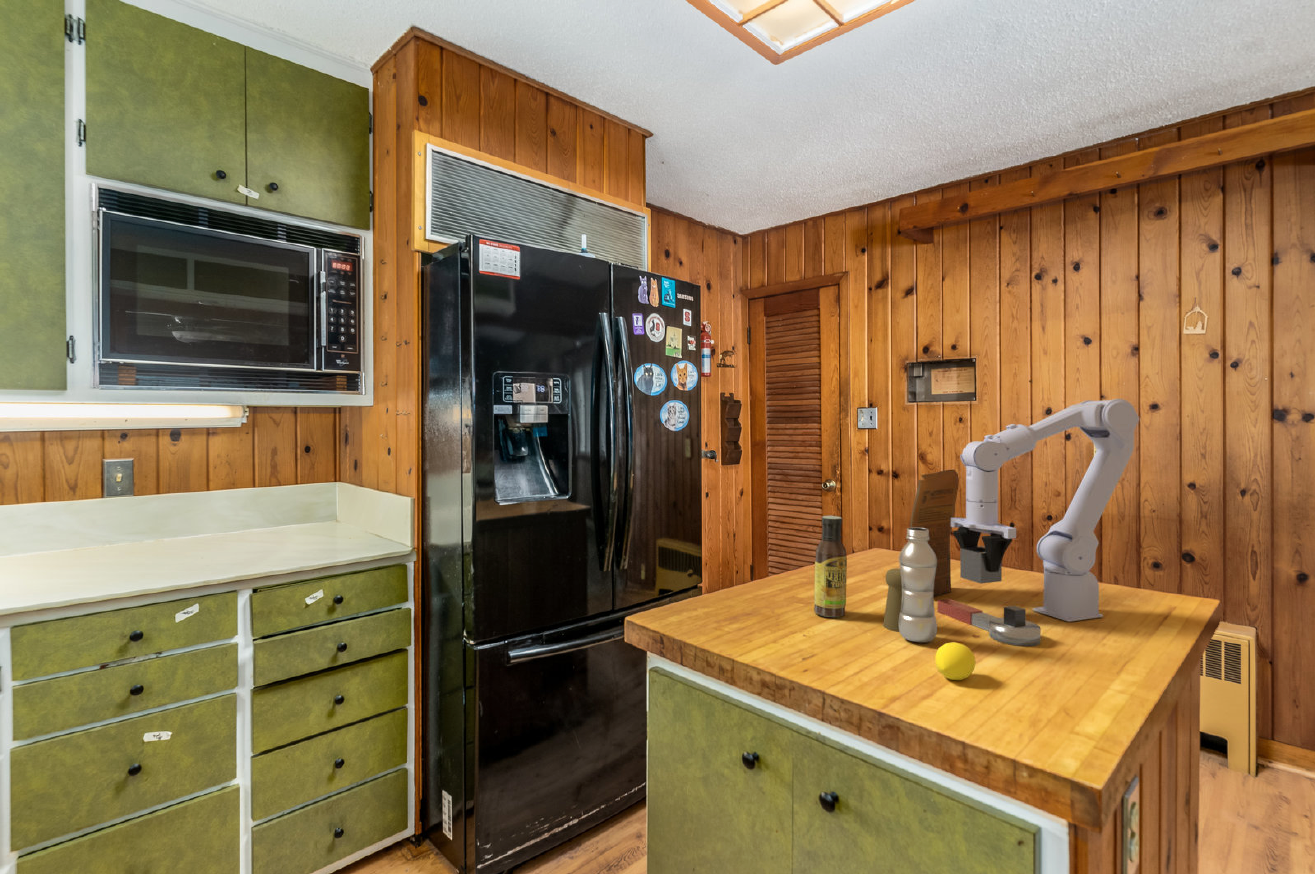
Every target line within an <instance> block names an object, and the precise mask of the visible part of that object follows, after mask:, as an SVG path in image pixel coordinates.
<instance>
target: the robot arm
mask: <svg viewBox="0 0 1315 874" xmlns="http://www.w3.org/2000/svg"><path fill="white" fill-rule="evenodd" d="M1139 421H1140V417H1139V414H1138V413H1137V411H1136V408H1135V407H1134V406H1133V404H1132V403H1131V402H1130V401H1128V400H1126V399H1123V398H1114V399H1109V400H1108V399H1107V400H1106V399H1104V400H1092V399H1091V400H1090V399H1088V400H1084V401H1082V402H1079V403H1076V404H1072V405H1069V406H1068V407H1066V408H1064V409H1062V410H1059V411H1058V412H1056V413H1054V414H1052V415H1050V416H1048V417H1045V418H1044V419H1041V420H1039V421H1038V422H1035V423H1033V424H1031V425H1029V426H1027V425H1024V424H1021V423H1020V424H1015V423H1011V424H1008V425H1006V426H1005V428H1006V429H1005V430H1002V431H1000V432H997V433H995V434H986V435H984V439H983V441H980V440H978V441H977V440H976V441H975V440H974V441H971V442H969V443H968V444H966V445H965V447H964V448H963V450H962V453H961V454H960V455H959V456H960V457H959V458H960V461H961V462H962V464H963V465H964V467H965V517H958V516H956V517H955V518H951V527H952V528H957V530H953V531H952V535H953V536H954V537H955V540H956V541H957V543H958V546H959V548H968V547H978V545H979V540H980V537H981V539H982V542H983V545H984V546H983V547H985V550H986V556H987V569H988V572H998V571H999V568H1000V564H1001V561H1003V557H1004V555H1005V553H1006V551H1007V550H1008V549H1009V546H1010V545H1011V544H1012V542H1013V539H1017V527H1012V526H1008V525H1005V524H1002V523H999V469H1001V468H1002V466H1003V465H1004V463H1006V462H1007V461H1010V460H1013V459H1015V458H1017V457H1020V456H1022V455H1024V454H1027V453H1029V452H1032V451H1034V450H1035V448H1036V446H1037V444H1038V442H1039V441H1042V440H1044V439H1047V438H1050V437H1052V436H1055V435H1057V434H1059V433H1063V432H1066V431H1068V430H1070V429H1073V428H1078V429H1079V430H1081V432H1083V434H1084V435H1085V436H1086V437H1087V438H1088V440H1090V441H1091V442H1092V443H1093V445H1094V448H1095V449H1096V452H1095V454H1094V456H1093V458H1092V460H1091V462H1090V464H1089V466H1088V467H1087V470H1086V472H1085V474H1084V477H1083V478H1082V480H1081V482H1080V484H1079V485H1078V488H1077V490H1076V492H1075V494H1074V495H1073V498H1072V500H1071V502H1070V503H1069V506H1068V508H1067V510H1066V512H1065V514H1064V516H1063V518H1062V519H1061V520H1060V521H1059V520H1058V522H1056V523H1054V524H1053V525H1051V526H1050V528H1049V530H1048V532H1047V533H1046V534H1044V535H1043V536H1042V537H1041V538H1040V539H1039V540H1038V542H1037V543H1036V554H1037V556H1038V557H1039V559H1041V561H1043V562H1042V566H1043V606H1038V607H1033V608H1032V611H1034V612H1037V613H1041V614H1043V615H1046V616H1049V617H1052V618H1056V619H1058V620H1062V621H1065V622H1075V621H1083V620H1088V619H1089V620H1090V619H1097V618H1098V619H1099V618H1103V617H1104V615H1103V614H1102V613H1099V608H1100V601H1099V599H1100V592H1099V591H1100V585H1099V581H1098V579H1097V577H1096V576H1095V574H1093V573H1092V572H1091V571H1090V570H1091V569H1092V568H1093V567H1094V565H1095V563H1096V559H1097V558H1096V552H1097V548H1098V546H1099V544H1100V542H1099V539H1098V538H1097V536H1096V534H1095V532H1094V531H1095V529H1096V527H1097V524H1098V522H1099V521H1100V519H1101V516H1102V515H1103V513H1104V511H1105V508H1106V507H1107V505H1108V503H1109V500H1110V499H1111V497H1112V495H1113V493H1114V490H1115V489H1116V487H1117V485H1118V483H1119V480H1120V479H1121V477H1122V475H1123V473H1124V471H1125V469H1126V467H1127V465H1128V463H1129V461H1130V459H1131V457H1132V455H1133V453H1134V450H1135V449H1134V445H1135V430H1136V428H1137V426H1138V423H1139ZM982 534H988V535H982ZM981 535H982V536H981Z"/></svg>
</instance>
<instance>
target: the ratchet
mask: <svg viewBox="0 0 1315 874" xmlns="http://www.w3.org/2000/svg"><path fill="white" fill-rule="evenodd" d="M1026 611H1027V609H1026V608H1022V607H1020V606H1017V605H1008V606H1003V617H998V616H995V615H993V614H989V613H987V612H983V609H978V608H976V607H973V606H971V605H967V604H965V603H962V602H959V601H957V600H953V599H951V598H946V599H938V600H937V613H939V614H941V615H944V614H946V615H945V616H947V615H948V616H947V617H949V616H950V618H952V619H955V620H957V619H958V620H957V621H960V622H962V623H965V624H967V623H968V624H967V625H971V626H974V627H977V628H979V629H981V628H982V630H985V631H986V630H987V632H988V633H989V634H988V635H989V637H990V638H991V639H992V638H993V639H992V640H994V641H996V640H997V642H999V643H1001V642H1003V643H1002V644H1005V643H1007V644H1006V645H1009V644H1011V646H1015V645H1016V646H1018V647H1036V646H1039V645H1040V644H1041V638H1042V636H1041V634H1042V632H1041V631H1042V630H1041V626H1040V625H1039V624H1037V623H1034V622H1032V621H1029V620H1026Z"/></svg>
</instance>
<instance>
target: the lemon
mask: <svg viewBox="0 0 1315 874" xmlns="http://www.w3.org/2000/svg"><path fill="white" fill-rule="evenodd" d="M934 656H935V660H934V661H935V663H934V664H935V666H936V669H937V671H938V672H939V673H940V674H942V675H943V677H944V678H945V679H948V680H951V681H962V680H964V679H966V678H967V679H968V677H970V675H971V674H972V673H973V672H974V671H975V666H976V663H977V661H976V658H975V655H974V653H973V651H972V650H971V648H969V647H968V646H966V645H964V644H963V643H958V642H955V641H951V642H946V643H944V644H942V645H941V646H939V647H938V649H937V650H936V653H935V655H934Z"/></svg>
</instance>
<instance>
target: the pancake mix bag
mask: <svg viewBox="0 0 1315 874" xmlns="http://www.w3.org/2000/svg"><path fill="white" fill-rule="evenodd" d="M959 480H960V479H959V474H958V472H957V471H956V470H955V469H947V470H939V471H938V472H935V473H934V472H933V473H926V474H922V475H920V479H919V480H918V486H917V490H916V492H915V499H914V502H913V505H912V506H913V507H912V510H911V516H910V522H909V528H911V527H918V528H926V529H928V531H929V540H928V544H929V546H930V547H931V548H932V550H933V551H934V553H935V555H936V558H937V566H936V573H935V579H934V590H933V591H934V594H933V598H934V597H937V596H940V595H945V594H948V593H952V579H951V577H952V576H951V575H952V573H951V570H952V569H951V568H952V567H951V534H952V528H953V527H951V518H956V517H955V515H956V504H957V503H956V502H957V497H958V492H959Z"/></svg>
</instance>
